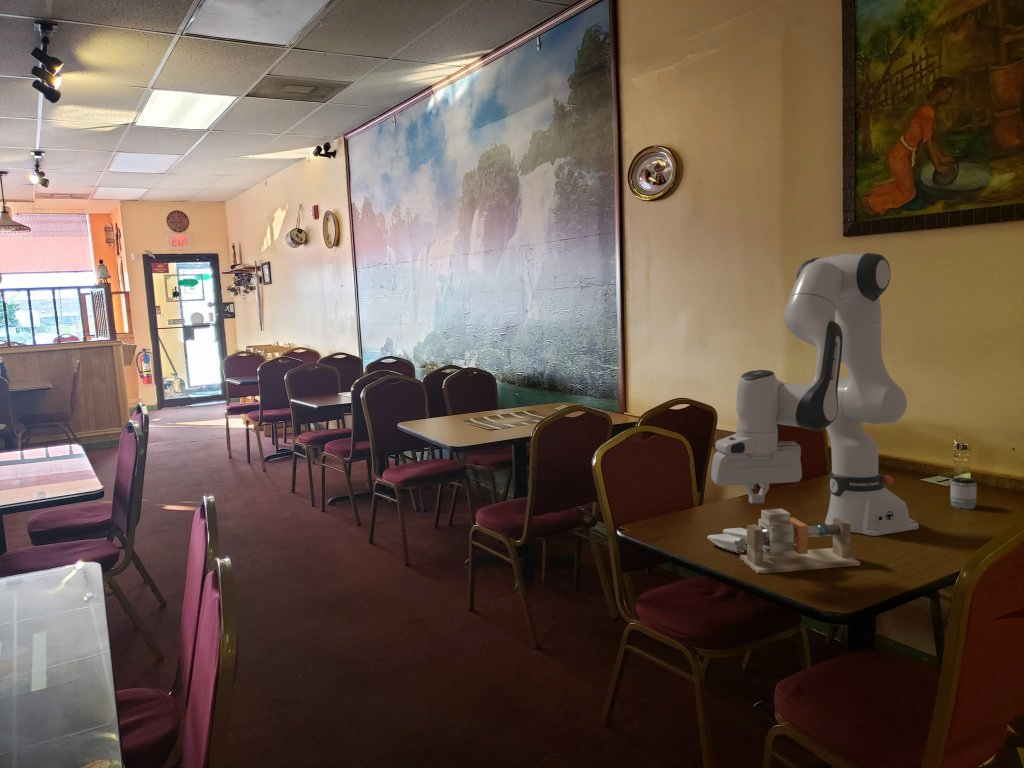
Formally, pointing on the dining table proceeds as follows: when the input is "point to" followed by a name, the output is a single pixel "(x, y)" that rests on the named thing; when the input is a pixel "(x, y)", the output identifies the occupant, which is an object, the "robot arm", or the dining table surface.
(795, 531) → the pipe
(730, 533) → the pair of white wedges
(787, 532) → the sleeve
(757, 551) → the stand
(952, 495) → the grey cylinder
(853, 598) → the dining table surface
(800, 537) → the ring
